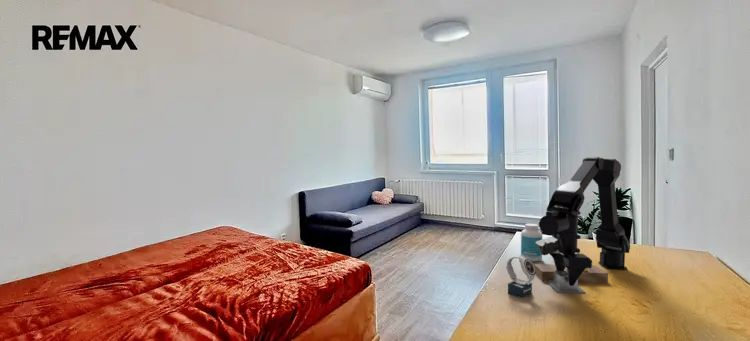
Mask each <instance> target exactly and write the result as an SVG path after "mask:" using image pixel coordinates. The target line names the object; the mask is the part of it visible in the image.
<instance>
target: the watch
mask: <svg viewBox="0 0 750 341" xmlns="http://www.w3.org/2000/svg"><path fill="white" fill-rule="evenodd" d="M514 259H518V261H519V263H520V268H521V271H522V272H523V274H524V275H526V278H527V280H524V279H520V278H518V277H517V275H516V273H515V270H514V267H513V265H512V264H513V263H512V262H513V260H514ZM534 264H535V263H534V262H532V261H531V260H529V259H527V258H526V257H523V256H521V255H515V256H512V257H510V258H509V259H507V261H506V266H505V267H506V272H507V274H508V276H509V278H510V280H512V281H509V282H507V294H509V295H511V296H515V297H518V298H520V299H524V298H526V297H527V296H530V295H531V294H532V293H533V292H532V291H533V286H532V285H533V280H534V279H535V276H536V274H535V273H536V269H535V266H534Z"/></svg>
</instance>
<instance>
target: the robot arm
mask: <svg viewBox="0 0 750 341" xmlns="http://www.w3.org/2000/svg"><path fill="white" fill-rule="evenodd" d="M621 170H622V164H621V162H620V161H618V160H617V159H616V158H603V157H600V156H586V157H584V158H583V159H582V162H581V165H580V166H579V167H578V168H577V170H576V172H575V173H574V174H573V175H572V177H571V179H569V181H568V182H566V183H564V184H561V185H560V186H559V187H557V188H556V189H555V190H554V191H553V193H552V195H551V198H550V200H549V202H548V205H547V207H546V212H545V215H544V216H542V217H541V218H540V220H539V222H538V225H539V230H540V232H542V234H544V235H546V236H550V237H546V238H542V240H539V241H536V242H535V243H536V246H537V249H538V252H540V253H541V254H542V256H548V255H550V256H551V257H552V259H553V263H554V265H555V266H556V270H557V271H564V269H565V267H566V268H567V272H568V281H569V285H570V286H573V285H574V284H575V283H576V281H577V280H578V278H579V276H580V275H581V274H582V272H583V271H584V270H585V269H586V268H592V266H593V260H592V259H591V258H590V257H589V256H588V255H586V254H585V253H583V254H577V253H580V252H581V249H580V248H578V240H581V235H580V234H578V233H579V231H578V228H579V225H578V224H579V216H580V215H581V214H582V212H581V211H580V209H581V208H582V207H583V205H584V201H585V194H584V192H585V191H586V189H587V188H588V186H589V185H590V184H591V182H592V181H594V182H595V184H596V185H597V191H598V201H599V202H598V203H599V210H600V211H599V212H600V221H601V224H600V225H599V226H598V228H597V229H596V230H595V242H596V246H597V248H598V249H601V251H600V252H599V261H598V264H600V266H603V267H604V268H606V269H609V270H628V267H627V266H625V262H626V254H629V253H630V250H631V243H630V242H629V240H628V238H627V236H626V232H625V229H624V228H623V226H622V225H621V224H620V223H619V218H618V208H617V207H618V206H617V195H616V186H615V185H616V184H615V183H616V182H617V181H618V179H619V177H620V176H621ZM584 254H585V255H586V256H585V255H584ZM587 256H588V257H587Z"/></svg>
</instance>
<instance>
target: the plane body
mask: <svg viewBox="0 0 750 341" xmlns="http://www.w3.org/2000/svg"><path fill="white" fill-rule="evenodd" d="M533 264H534V266H535V269H536V273H535V276H537V277H538V278H539V279H540V280H541V281H545V282H546V281H553V270H554V271H557V270H556V266H555V264H550V263H549V264H548V263H547V264H543V263H542V264H541V263H533ZM564 271H567V268H566V267H565V269H564ZM579 282H580V283H581V282H582V283H608V282H609V273H608V272H606V270H604V269H603V268H602V267H601V268H600V267H599V266H597V265H592V268H589V269H588V271H583V272H582V274H581V275H580V276H579V278H578V283H579Z"/></svg>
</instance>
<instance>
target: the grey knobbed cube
mask: <svg viewBox="0 0 750 341" xmlns="http://www.w3.org/2000/svg"><path fill="white" fill-rule="evenodd" d="M553 283H554V284H555V285H556V286H557V287H558V288H559V289H561V290H578V286H579V282H578V280H577V281H576V283H575V284H574V285H573V286H570V285H569V281H568V272H567V271H554V270H553Z"/></svg>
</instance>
